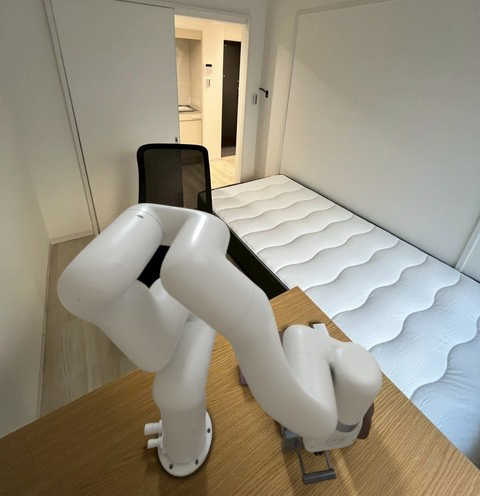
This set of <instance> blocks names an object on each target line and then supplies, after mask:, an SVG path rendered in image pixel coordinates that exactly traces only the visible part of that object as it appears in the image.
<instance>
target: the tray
mask: <svg viewBox="0 0 480 496" xmlns="http://www.w3.org/2000/svg"><path fill="white" fill-rule="evenodd" d="M279 429H280V432H281V436H282V440H281V442H280V448H281V452H286V451H287V452H289V451H293V450H296V454H297V457H298V461H299V462H298V463H299V466H300V469H301V470H300V471H301V481H302V484H303V486H307V485H311V484H316V483H317V484H318V483H322V482H327V481H331V480H336V479H337V473H336V471H335V469H334V468H333V466H332V462H331V459H330V457H329V453H328V450H325V451H324V453H323V454H324V457H325V459H326V464H327V467H328V469H322V470H317V471H312V472H306V469H305V464H304V462H303V457H302V452H301V449H305V446H304V443H303V440H298V437H297V434H296V433H294V432H292V431H290V430H289V429H287V428H286V427H284V426H283V425H282V424H280V423H279Z"/></svg>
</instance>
